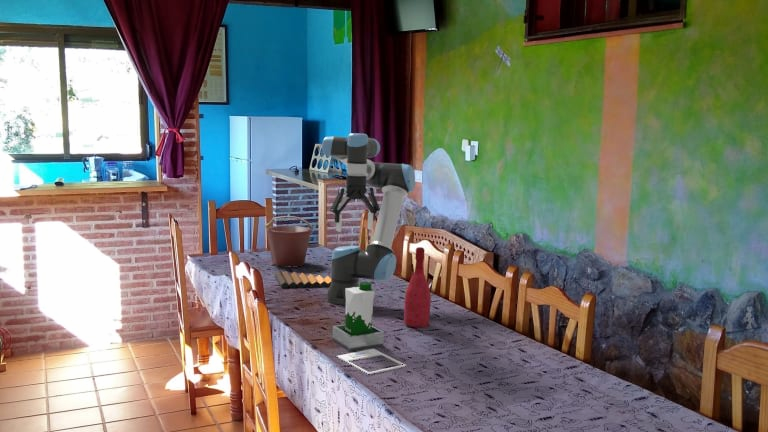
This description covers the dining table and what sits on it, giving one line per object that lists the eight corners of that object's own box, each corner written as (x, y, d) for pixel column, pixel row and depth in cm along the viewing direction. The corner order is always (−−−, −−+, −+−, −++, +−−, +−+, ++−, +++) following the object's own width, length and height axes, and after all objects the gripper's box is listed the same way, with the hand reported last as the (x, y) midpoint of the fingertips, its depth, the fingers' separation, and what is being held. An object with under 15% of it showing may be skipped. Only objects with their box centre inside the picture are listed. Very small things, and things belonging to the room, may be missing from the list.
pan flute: (274, 276, 339) (280, 289, 316) (274, 269, 339) (281, 282, 315) (325, 275, 346) (335, 287, 322) (325, 268, 346) (335, 280, 322)
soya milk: (375, 342, 242) (377, 285, 239) (351, 345, 238) (353, 287, 235) (364, 335, 250) (366, 280, 247) (340, 337, 245) (342, 282, 242)
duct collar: (364, 335, 252) (365, 321, 252) (383, 346, 241) (384, 332, 241) (332, 340, 246) (332, 326, 245) (349, 351, 235) (350, 336, 234)
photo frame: (373, 348, 237) (406, 364, 223) (373, 351, 237) (406, 367, 223) (336, 355, 228) (368, 372, 214) (336, 358, 229) (368, 376, 214)
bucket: (259, 266, 358) (260, 217, 355) (273, 258, 380) (274, 212, 376) (305, 269, 354) (307, 220, 351) (317, 261, 376) (318, 215, 372)
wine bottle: (433, 323, 270) (437, 247, 266) (423, 330, 262) (427, 251, 257) (409, 319, 274) (413, 244, 270) (399, 326, 266) (403, 247, 261)
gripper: (380, 173, 274) (377, 227, 277) (322, 174, 262) (320, 230, 265) (390, 175, 268) (387, 230, 271) (331, 175, 255) (329, 233, 258)
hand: (354, 230), depth 268 cm, fingers open, 13 cm apart
